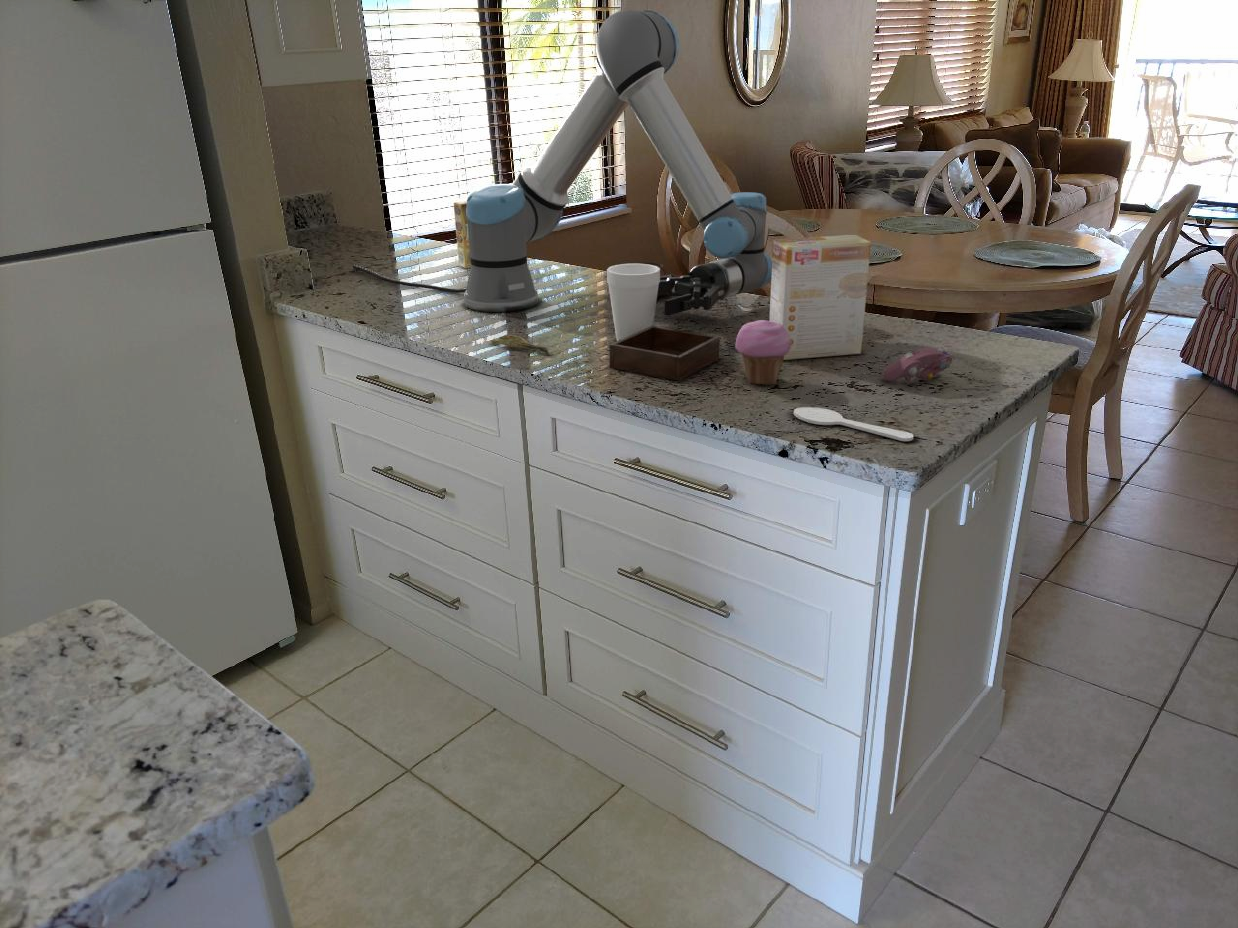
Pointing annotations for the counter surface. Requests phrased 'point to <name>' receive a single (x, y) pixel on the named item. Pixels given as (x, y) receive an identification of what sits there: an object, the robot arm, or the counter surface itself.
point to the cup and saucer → (662, 269)
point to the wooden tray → (664, 352)
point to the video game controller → (918, 365)
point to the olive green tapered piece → (518, 343)
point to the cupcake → (763, 350)
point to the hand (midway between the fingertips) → (638, 301)
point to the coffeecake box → (820, 293)
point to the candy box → (462, 234)
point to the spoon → (847, 422)
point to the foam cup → (633, 296)
